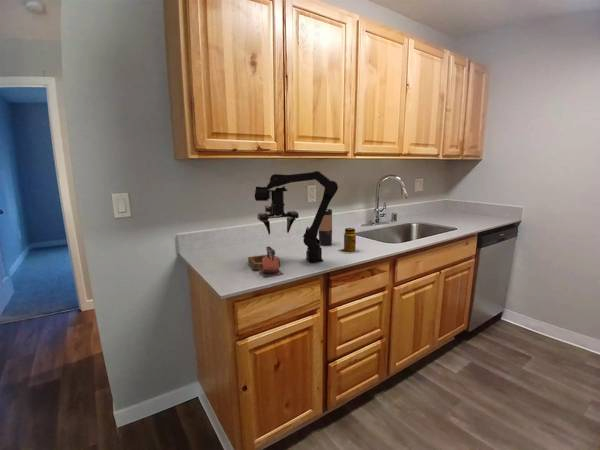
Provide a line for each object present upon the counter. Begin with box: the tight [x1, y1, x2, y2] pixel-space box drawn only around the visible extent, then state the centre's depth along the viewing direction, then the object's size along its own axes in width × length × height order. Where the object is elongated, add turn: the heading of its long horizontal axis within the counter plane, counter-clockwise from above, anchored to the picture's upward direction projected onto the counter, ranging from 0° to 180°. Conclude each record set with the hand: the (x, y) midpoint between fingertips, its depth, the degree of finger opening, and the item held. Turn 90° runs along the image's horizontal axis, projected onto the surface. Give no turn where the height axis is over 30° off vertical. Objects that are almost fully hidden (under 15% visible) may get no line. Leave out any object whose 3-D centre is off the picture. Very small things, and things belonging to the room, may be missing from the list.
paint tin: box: [262, 246, 280, 275], centre depth 132 cm, size 7×7×10 cm
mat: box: [258, 269, 284, 278], centre depth 133 cm, size 8×8×1 cm
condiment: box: [338, 227, 359, 254], centre depth 163 cm, size 7×8×12 cm
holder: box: [247, 254, 282, 272], centre depth 143 cm, size 12×12×3 cm
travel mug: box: [318, 208, 333, 247], centre depth 176 cm, size 8×8×20 cm
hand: (278, 233), depth 148 cm, fingers open, 9 cm apart
